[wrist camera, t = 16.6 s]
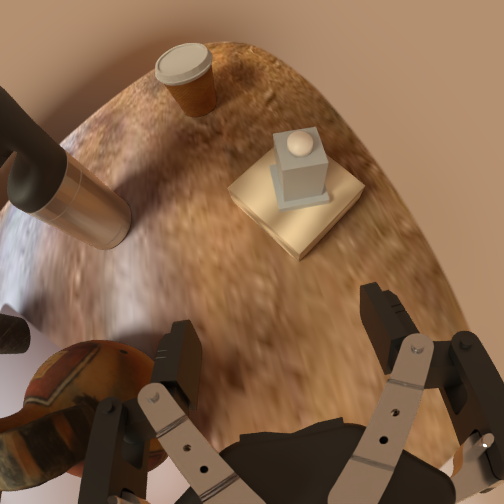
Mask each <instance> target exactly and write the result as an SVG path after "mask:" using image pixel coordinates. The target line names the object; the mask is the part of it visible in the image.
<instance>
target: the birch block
mask: <svg viewBox="0 0 504 504" xmlns="http://www.w3.org/2000/svg"><path fill="white" fill-rule="evenodd" d="M326 157H327V160H328V168H327V173H326V178H325V186H326V189H327V192H328V196H329V199H330V200H329V204H324V205H318V206H313V207H307V208H302V209H297V210H291V211H286V212H281V213H280V212H279V208H278V203H277V199H276V194H275V190H274V185H273V181H272V177H271V172H270V167H269V165H274V164H276V159H275V150H274V147H273V148H272V149H271V150H270V151H268V152H267V153H266V154H265V155H264V156H263V157H262V158H260V159H259V160H258V161H257V162H256V163H255V164H254V165H252V166H251V167H250V168H249V169H248V170H247V171H246V172H244V173H243V174H242V175H241V176H240V177H239V178H238V179H237V180H236V181H234V182H233V183H232V184H231V185H230V186H229V187H228V191H229V193H230V195H231V198H232V200H233V202H234V203H235V204H236V205H237V206H239V207H240V208H241V209H242V210H243V211H244V212H245V213H246V214H247V215H248V216H249V217H250V218H252V219H253V220H254V221H255V222H256V223H257V224H258V225H259V226H260V227H261V228H262V229H263V230H264V231H266V232H267V233H268V234H269V235H270V236H271V237H272V238H273V239H274V240H275V241H276V242H277V243H278V244H279V245H280V246H282V247H283V248H284V249H285V250H286V251H287V252H288V253H289V254H290V255H291V256H292V257H293V258H294V259H295V260H296V261H297V262H299V261H300V260H301V259H302V258H303V257H304V256H305V255H306V254H307V253H308V252H309V251H310V250H311V249H312V248H313V247H314V246H315V245H316V244H317V243H318V242H319V241H320V240H321V239H322V238H323V237H324V236H325V235H326V233H327V232H328V231H329V230H330V229H331V228H332V227H333V226H334V225H335V224H336V223H337V222H338V221H339V220H340V219H341V218H342V217H343V216H344V214H345V213H346V212H347V211H348V210H349V209H350V208H351V207H352V206H353V205H354V204H355V203H356V202H357V201H358V199H359V197H360V195H361V193H362V191H363V189H364V187H365V185H364V184H362V183H361V182H360V181H359V180H358V179H356V178H355V177H354V176H353V175H352V174H350V173H349V172H348V171H347V170H345V169H344V168H343V167H342V166H340V165H339V164H338V163H337V162H335V161H334V160H333V159H332V158H330V157H329V156H328V155H326Z"/></svg>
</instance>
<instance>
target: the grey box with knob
mask: <svg viewBox="0 0 504 504" xmlns="http://www.w3.org/2000/svg"><path fill="white" fill-rule="evenodd" d="M273 141H274V150H275V159H276V164H274V165H269V167H270V172H271V177H272V181H273V185H274V190H275V194H276V199H277V203H278V208H279V212H280V213H281V212H286V211H291V210H297V209H302V208H307V207H313V206H318V205H324V204H329V200H330V199H329V196H328V192H327V189H326V186H325V178H326V173H327V168H328V160H327V157H326V154H325V151H324V148H323V145H322V142H321V140H320V137H319V134H318V131H317V128H316V127H311V128H305V129H298V130H292V131H286V132H280V133H275V134H273Z"/></svg>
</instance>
